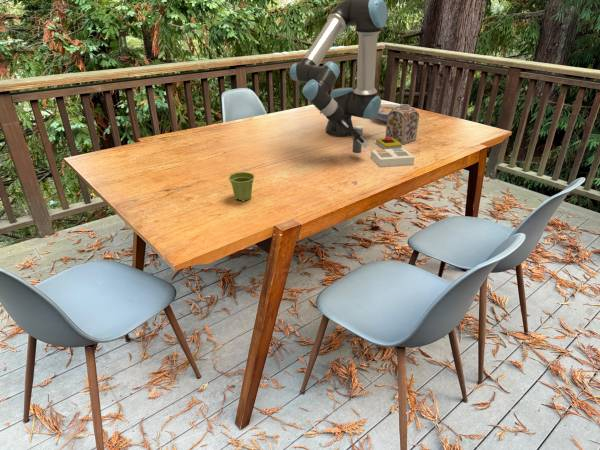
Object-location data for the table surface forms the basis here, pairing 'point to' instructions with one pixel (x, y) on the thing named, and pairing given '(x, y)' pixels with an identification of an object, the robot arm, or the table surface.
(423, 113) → the table surface
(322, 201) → the table surface
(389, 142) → the emergency button
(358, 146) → the capped grey bottle
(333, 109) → the robot arm
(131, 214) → the table surface
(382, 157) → the socket block
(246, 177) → the plant pot
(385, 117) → the ramen bowl
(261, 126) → the table surface
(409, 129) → the decorative jar
